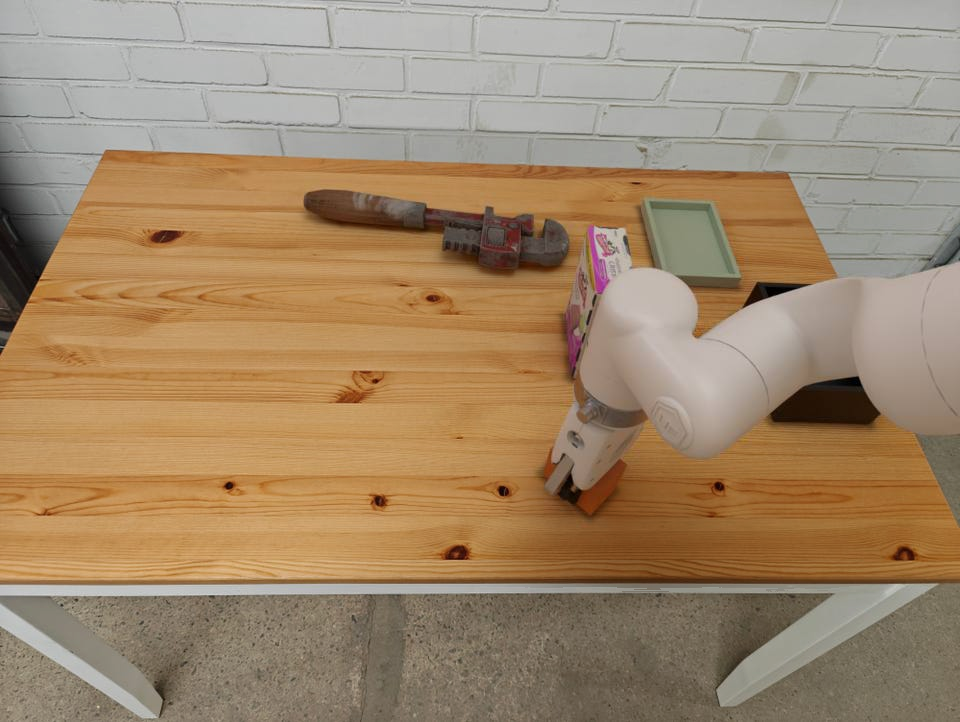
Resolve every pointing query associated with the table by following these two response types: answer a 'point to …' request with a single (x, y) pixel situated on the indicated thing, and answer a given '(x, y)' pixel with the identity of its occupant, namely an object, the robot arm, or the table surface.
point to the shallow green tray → (690, 242)
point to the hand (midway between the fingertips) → (579, 479)
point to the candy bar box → (593, 283)
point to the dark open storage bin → (819, 385)
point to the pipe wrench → (494, 241)
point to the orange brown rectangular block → (599, 490)
